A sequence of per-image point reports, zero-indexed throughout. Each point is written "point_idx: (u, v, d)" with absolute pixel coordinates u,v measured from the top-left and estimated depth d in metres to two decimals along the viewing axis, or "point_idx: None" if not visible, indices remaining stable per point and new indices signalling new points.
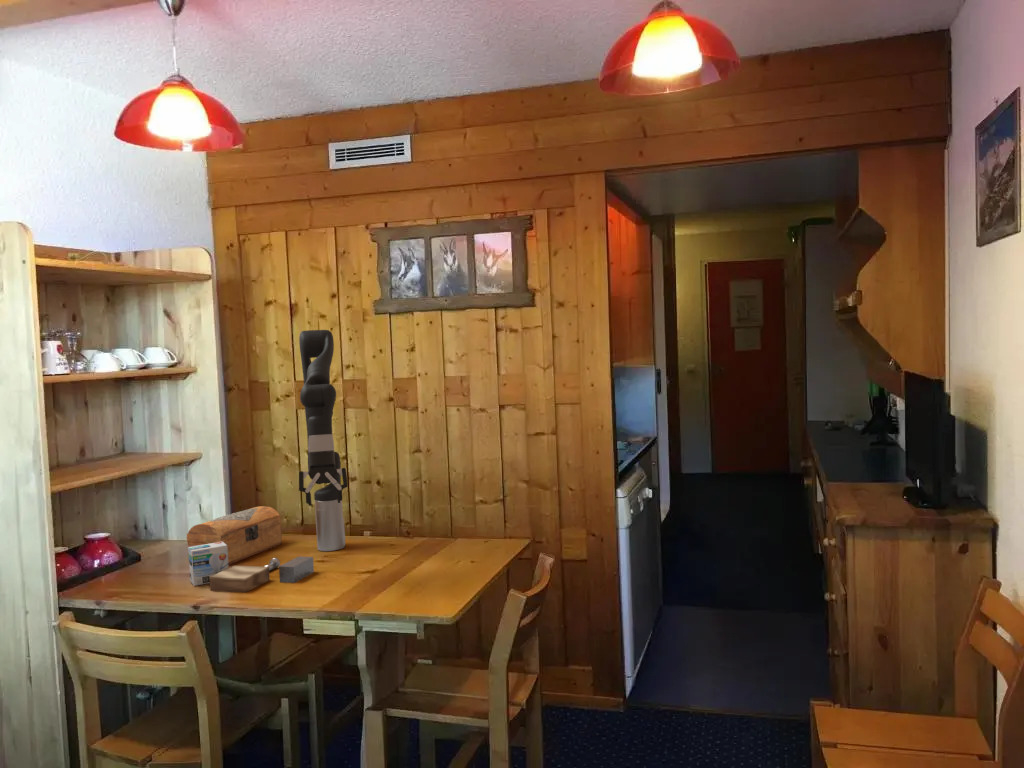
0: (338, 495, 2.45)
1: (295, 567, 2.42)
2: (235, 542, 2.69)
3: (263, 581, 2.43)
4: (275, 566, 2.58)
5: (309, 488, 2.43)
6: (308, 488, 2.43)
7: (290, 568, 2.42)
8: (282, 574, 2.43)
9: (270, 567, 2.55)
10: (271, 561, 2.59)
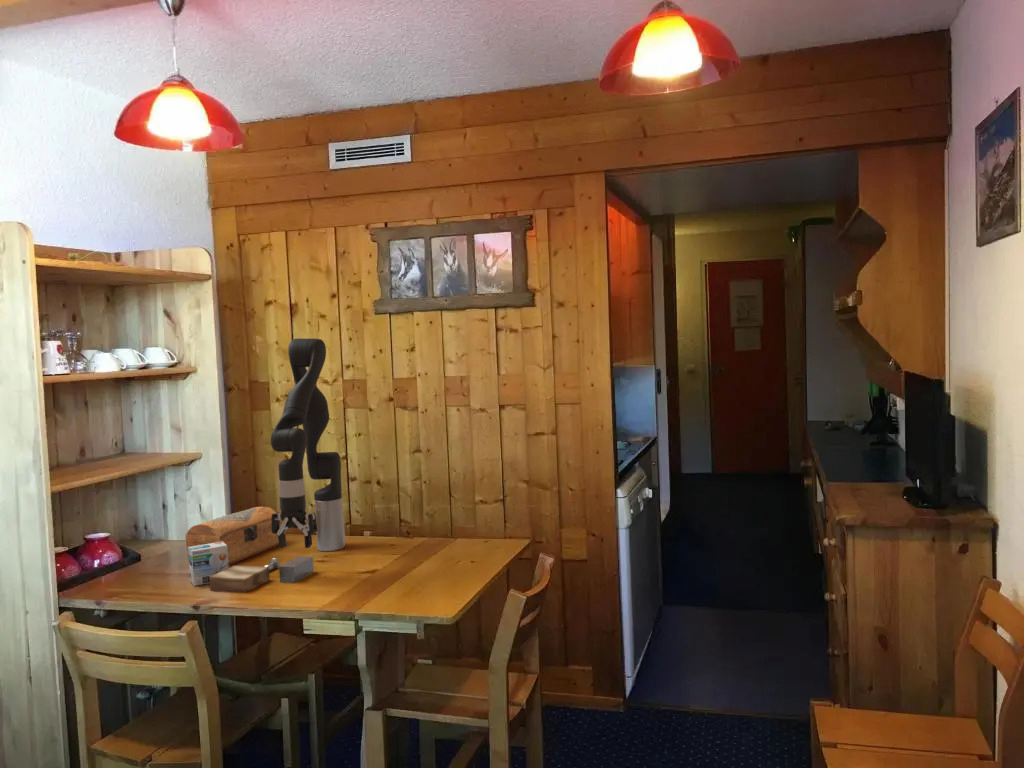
0: (305, 540, 2.44)
1: (295, 567, 2.42)
2: (234, 543, 2.68)
3: (263, 581, 2.43)
4: (275, 566, 2.58)
5: (280, 531, 2.47)
6: (280, 531, 2.47)
7: (290, 568, 2.42)
8: (282, 574, 2.42)
9: (270, 567, 2.55)
10: (271, 561, 2.59)
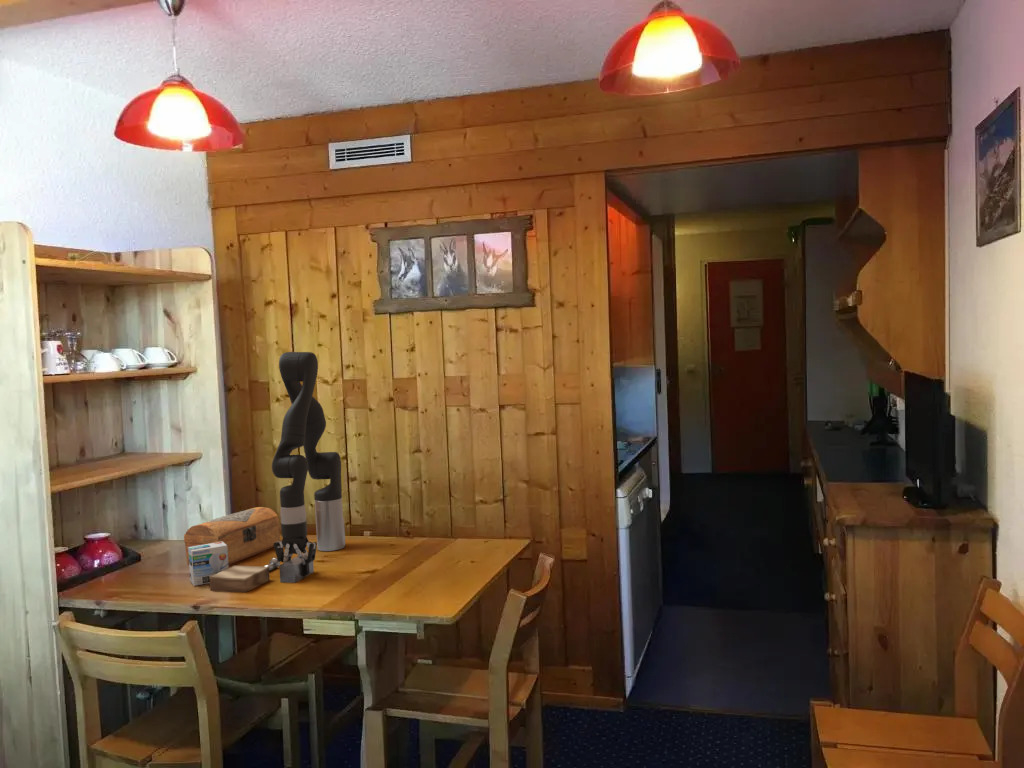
0: (302, 569, 2.45)
1: (295, 566, 2.42)
2: (233, 543, 2.68)
3: (263, 581, 2.43)
4: (275, 566, 2.58)
5: (285, 559, 2.47)
6: (285, 559, 2.47)
7: (290, 567, 2.42)
8: (282, 573, 2.42)
9: (270, 567, 2.55)
10: (271, 561, 2.59)
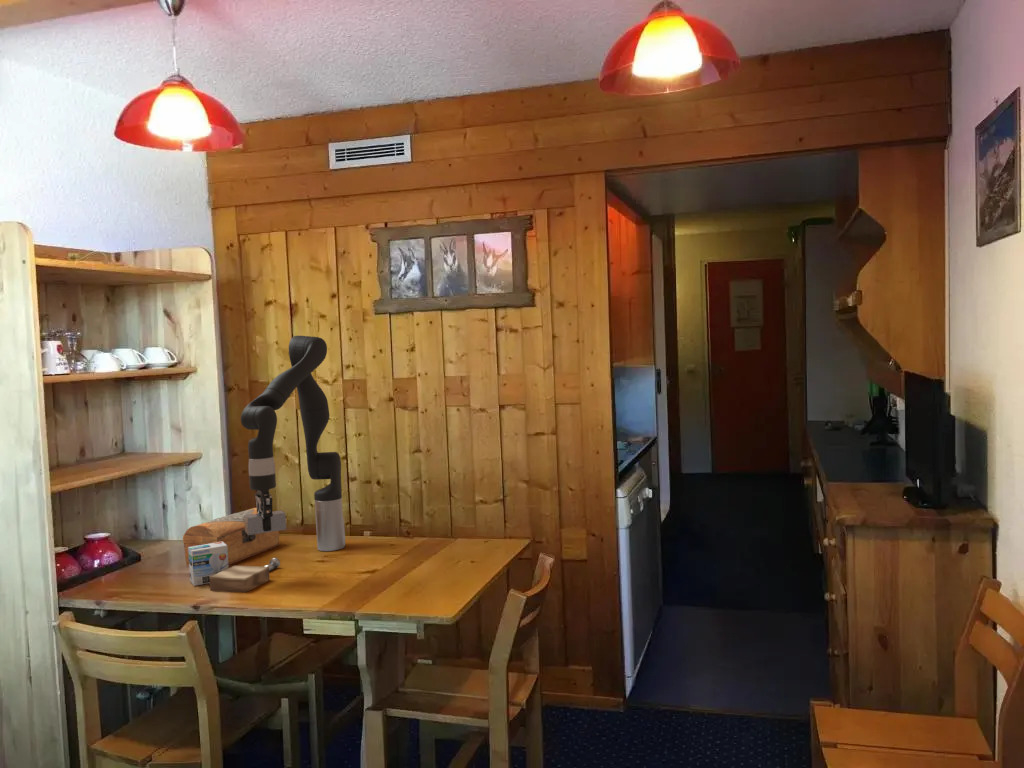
0: (263, 523, 2.40)
1: (250, 519, 2.39)
2: (232, 544, 2.67)
3: (263, 581, 2.43)
4: (275, 566, 2.58)
5: (258, 511, 2.45)
6: (258, 510, 2.45)
7: (246, 519, 2.39)
8: (245, 524, 2.42)
9: (270, 567, 2.55)
10: (271, 561, 2.59)
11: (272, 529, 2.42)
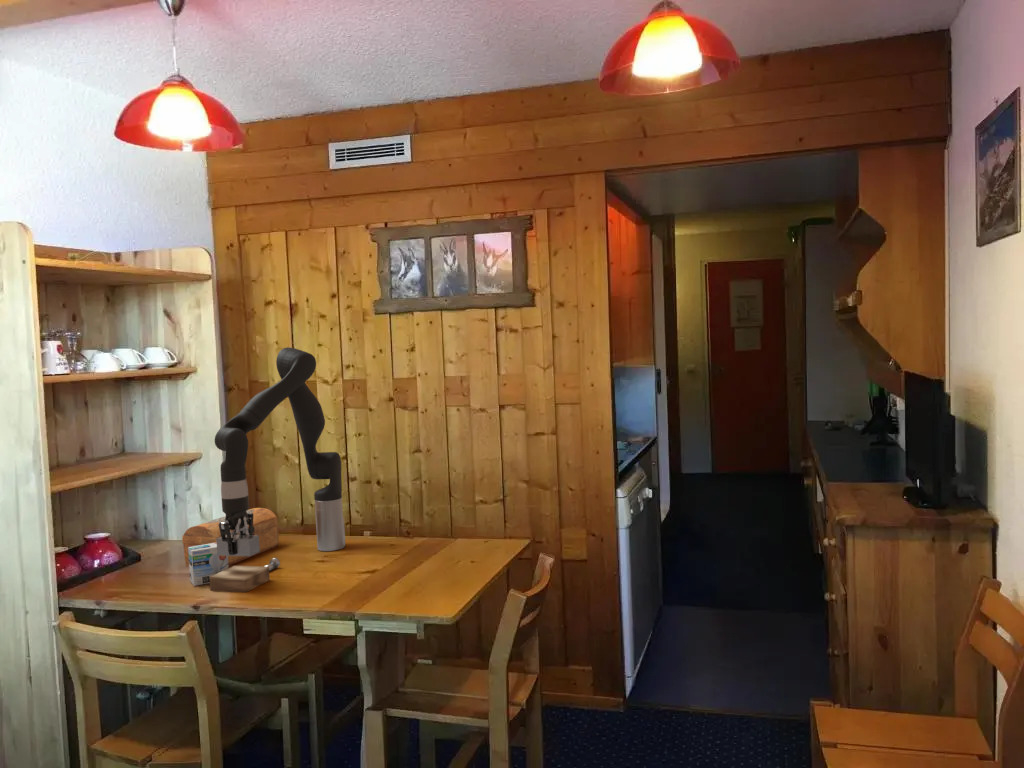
0: None
1: (219, 540, 2.40)
2: None
3: (263, 581, 2.43)
4: (275, 566, 2.58)
5: None
6: None
7: None
8: None
9: (270, 567, 2.55)
10: (271, 561, 2.59)
11: (237, 553, 2.38)
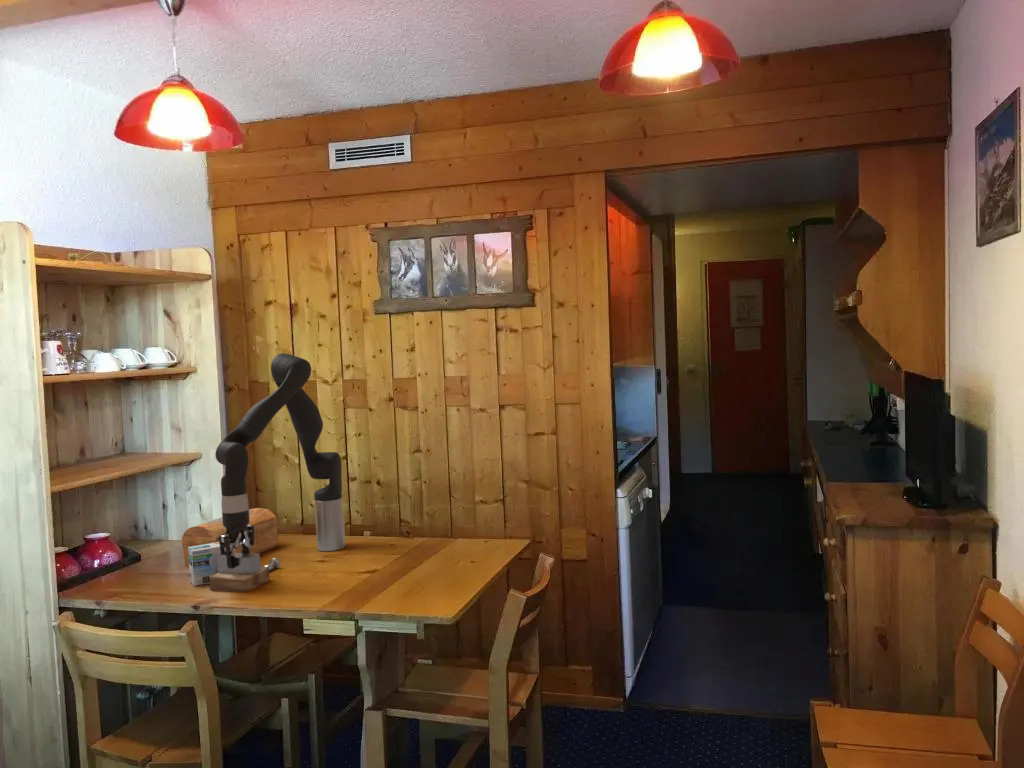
0: None
1: (220, 558, 2.40)
2: None
3: (263, 581, 2.43)
4: (275, 566, 2.58)
5: None
6: None
7: None
8: None
9: (270, 567, 2.55)
10: (271, 561, 2.59)
11: (238, 572, 2.39)
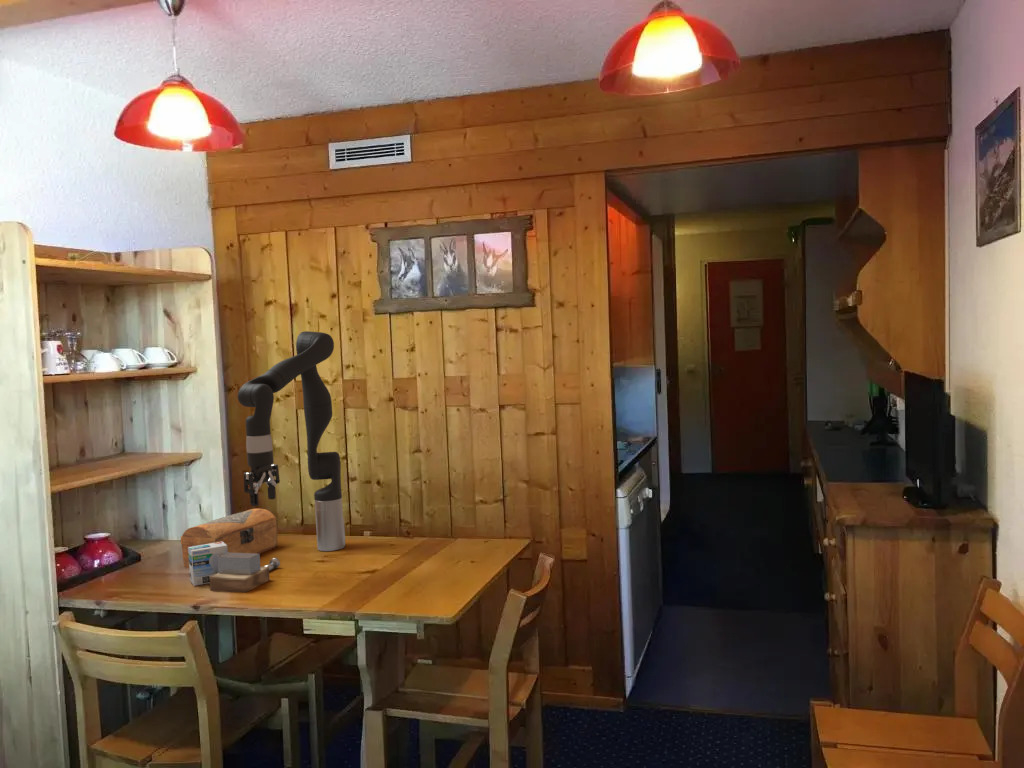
0: None
1: (220, 558, 2.40)
2: (230, 545, 2.65)
3: (263, 581, 2.43)
4: (275, 566, 2.58)
5: None
6: None
7: None
8: None
9: (270, 567, 2.55)
10: (271, 561, 2.59)
11: (238, 572, 2.39)
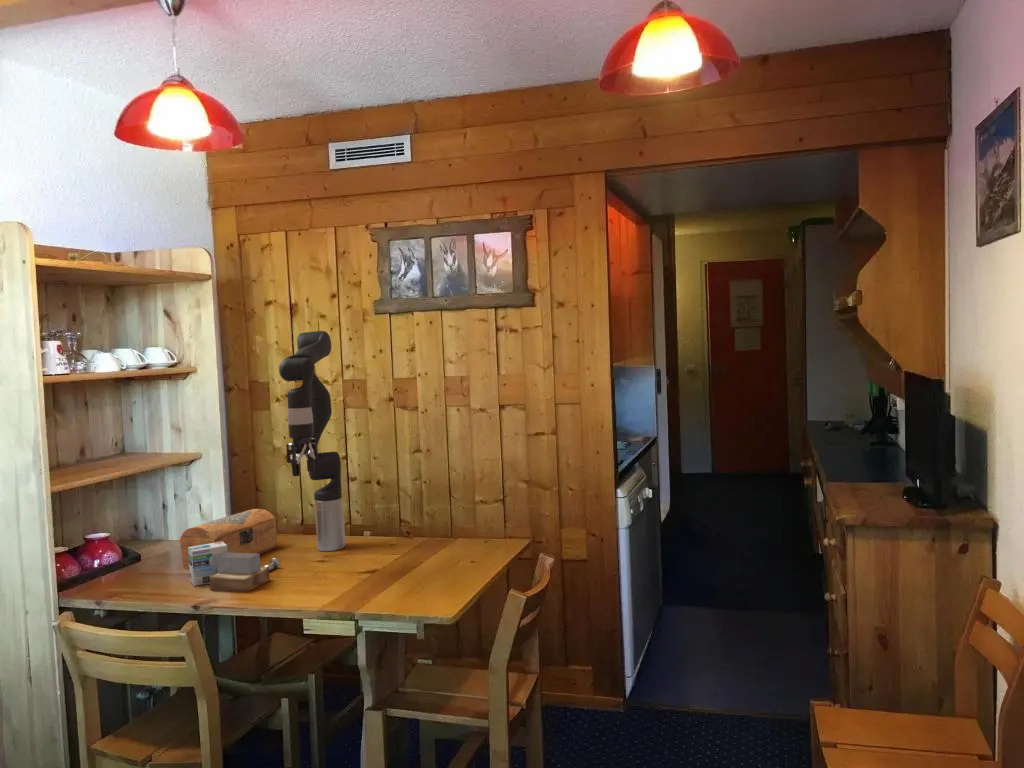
0: None
1: (220, 558, 2.40)
2: (229, 546, 2.64)
3: (263, 581, 2.43)
4: (275, 566, 2.58)
5: None
6: None
7: None
8: None
9: (270, 567, 2.55)
10: (271, 561, 2.59)
11: (238, 572, 2.39)
